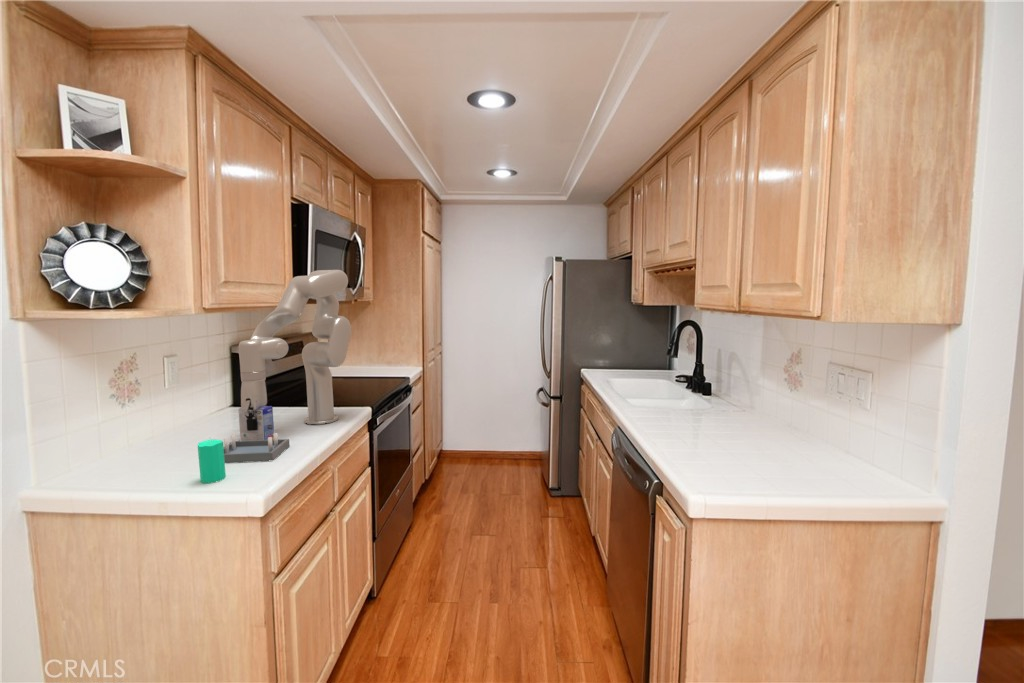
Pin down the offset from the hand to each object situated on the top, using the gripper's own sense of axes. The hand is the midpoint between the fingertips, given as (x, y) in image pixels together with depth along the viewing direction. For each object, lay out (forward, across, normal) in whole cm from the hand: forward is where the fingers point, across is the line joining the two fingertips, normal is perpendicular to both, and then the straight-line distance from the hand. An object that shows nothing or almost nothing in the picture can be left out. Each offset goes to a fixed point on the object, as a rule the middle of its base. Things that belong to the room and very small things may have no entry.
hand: (257, 426), depth 170 cm
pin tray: (+5, +14, +4) cm, 16 cm away
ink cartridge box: (+5, 0, 0) cm, 5 cm away
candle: (+5, +34, +2) cm, 34 cm away
